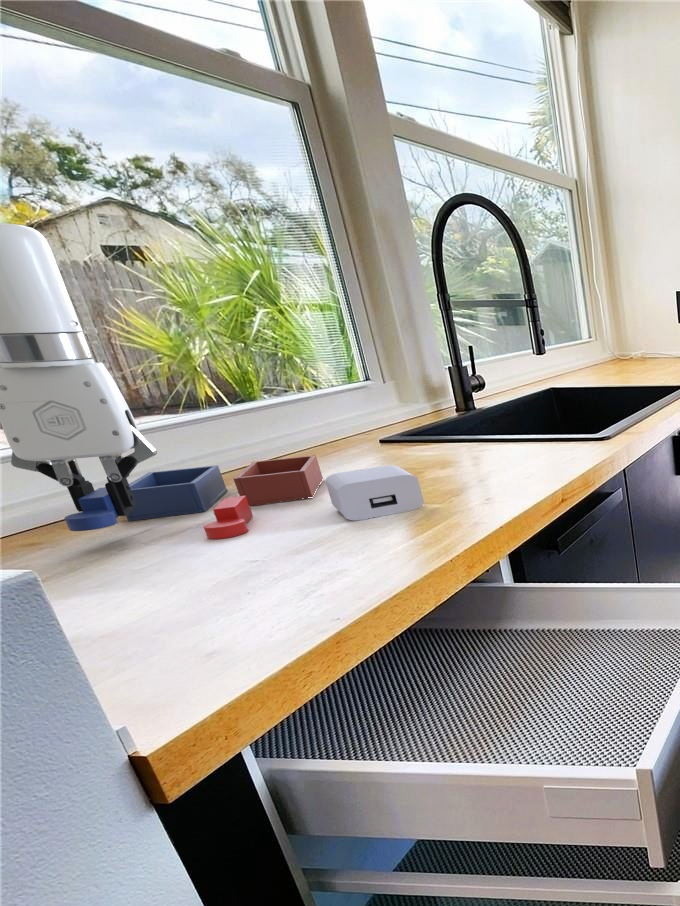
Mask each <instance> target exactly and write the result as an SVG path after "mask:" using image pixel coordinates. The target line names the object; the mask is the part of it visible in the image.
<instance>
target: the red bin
mask: <svg viewBox="0 0 680 906" xmlns="http://www.w3.org/2000/svg"><path fill="white" fill-rule="evenodd" d="M322 479H323V480H324V477H323V474H322V471H321V468H320V465H319V461H318V458H317V455H315V454H314V455H305V456H295V457H285V458H276V459H267V460H256V461H252V462H251V463H249V464H248V465H247V466H246V467H245V468H244V469H242V470H241V472H239V473H238V474H237V475H236V476H234V477H233V482H234V485H235V487H236V490H237V493H238V495H239V496H246V499H247V501H248V504H249V507H253V506H252V505H255V506H261V505H260V504H263V505H268V504H267V503H271V504H275V503H274V502H279V503H281V502H280V501H287V502H290V501H289V500H295V499H302V498H308V497H313V495H314V493H315V491H316V489H317V488H318V486H319V484H320V482H321V481H322ZM318 489H319V488H318ZM314 496H315V495H314ZM313 498H314V497H313ZM295 501H296V500H295Z"/></svg>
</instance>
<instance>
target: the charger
mask: <svg viewBox="0 0 680 906" xmlns="http://www.w3.org/2000/svg"><path fill="white" fill-rule="evenodd" d="M324 481H325V487H326V489H327V492H328V495H329V499H330V501H331V504H332V506H333V507H334V508H335V509H336V510H337V511H338V512H339V513H340V514H341V515H342V517H344V518H345V519H347V520H349V521H364V520H369V519H368V518H370V519H374V518H373V517H375V518H379V516H380V517H385V515H386V516H391V515H395V514H400V513H406V512H411V511H416V510H417V509H420V508H421V507H422V506H423V505H425V504H424V503H425V501H424V496H423V493H422V489H421V485H420V482H419V478H418V477H417V476H415V475H413V474H412V473H410V472H408V471H407V470H405V469H403V468H402V467H400V466H398V465H391V464H389V465H381V466H374V467H368V468H362V469H356V470H355V469H354V470H348V471H340V472H336V473H331V474H330V475H327V477H326V478H325V479H324Z"/></svg>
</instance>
